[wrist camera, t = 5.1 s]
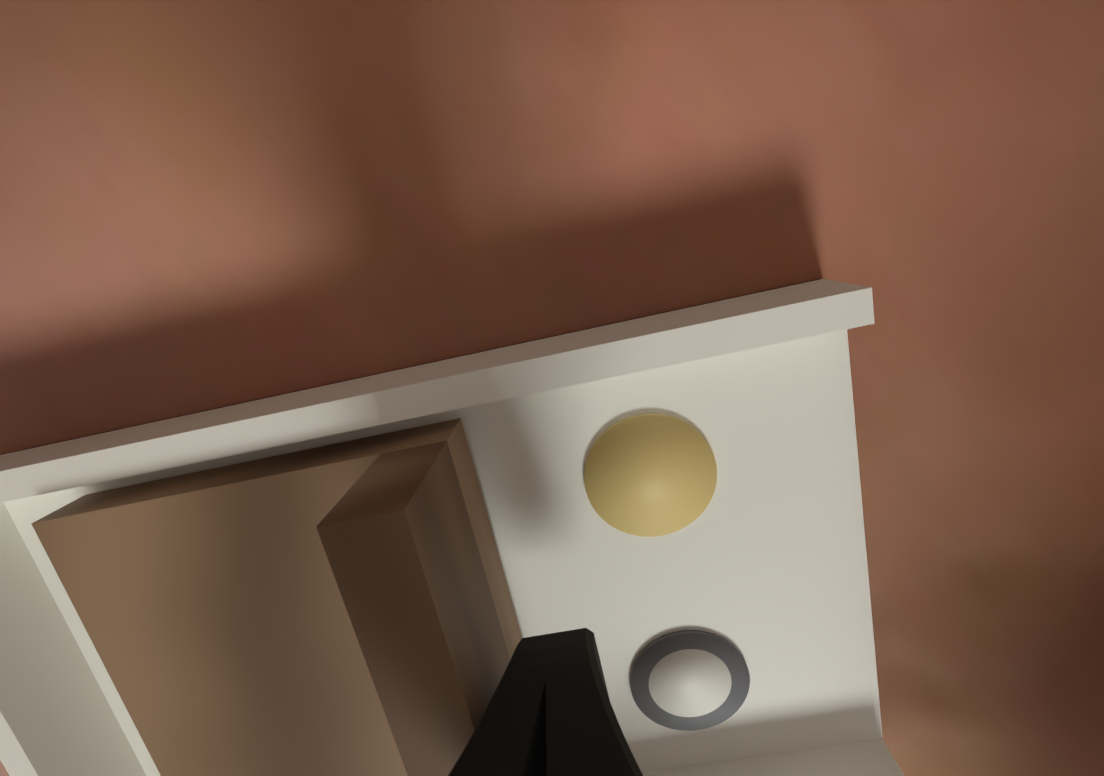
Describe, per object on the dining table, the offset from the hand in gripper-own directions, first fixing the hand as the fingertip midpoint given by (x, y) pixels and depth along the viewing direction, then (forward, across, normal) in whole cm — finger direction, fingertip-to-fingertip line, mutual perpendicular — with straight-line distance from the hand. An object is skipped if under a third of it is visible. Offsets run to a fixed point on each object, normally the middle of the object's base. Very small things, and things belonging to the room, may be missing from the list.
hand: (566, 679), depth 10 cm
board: (+3, +3, 0) cm, 4 cm away
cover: (+2, +5, 0) cm, 5 cm away
